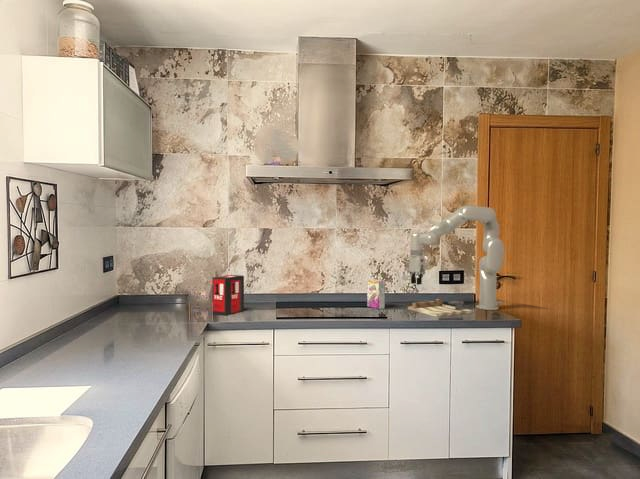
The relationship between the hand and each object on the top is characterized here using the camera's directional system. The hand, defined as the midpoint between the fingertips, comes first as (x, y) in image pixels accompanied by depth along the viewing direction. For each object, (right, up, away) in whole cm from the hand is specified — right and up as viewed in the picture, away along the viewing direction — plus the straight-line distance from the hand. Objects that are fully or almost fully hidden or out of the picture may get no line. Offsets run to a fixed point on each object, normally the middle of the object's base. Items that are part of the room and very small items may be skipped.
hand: (416, 283), depth 295 cm
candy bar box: (-24, -14, -2) cm, 28 cm away
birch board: (+11, -15, -11) cm, 22 cm away
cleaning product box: (-108, -14, -24) cm, 111 cm away
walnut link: (+6, -13, -5) cm, 15 cm away
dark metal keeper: (+20, -14, -15) cm, 28 cm away
